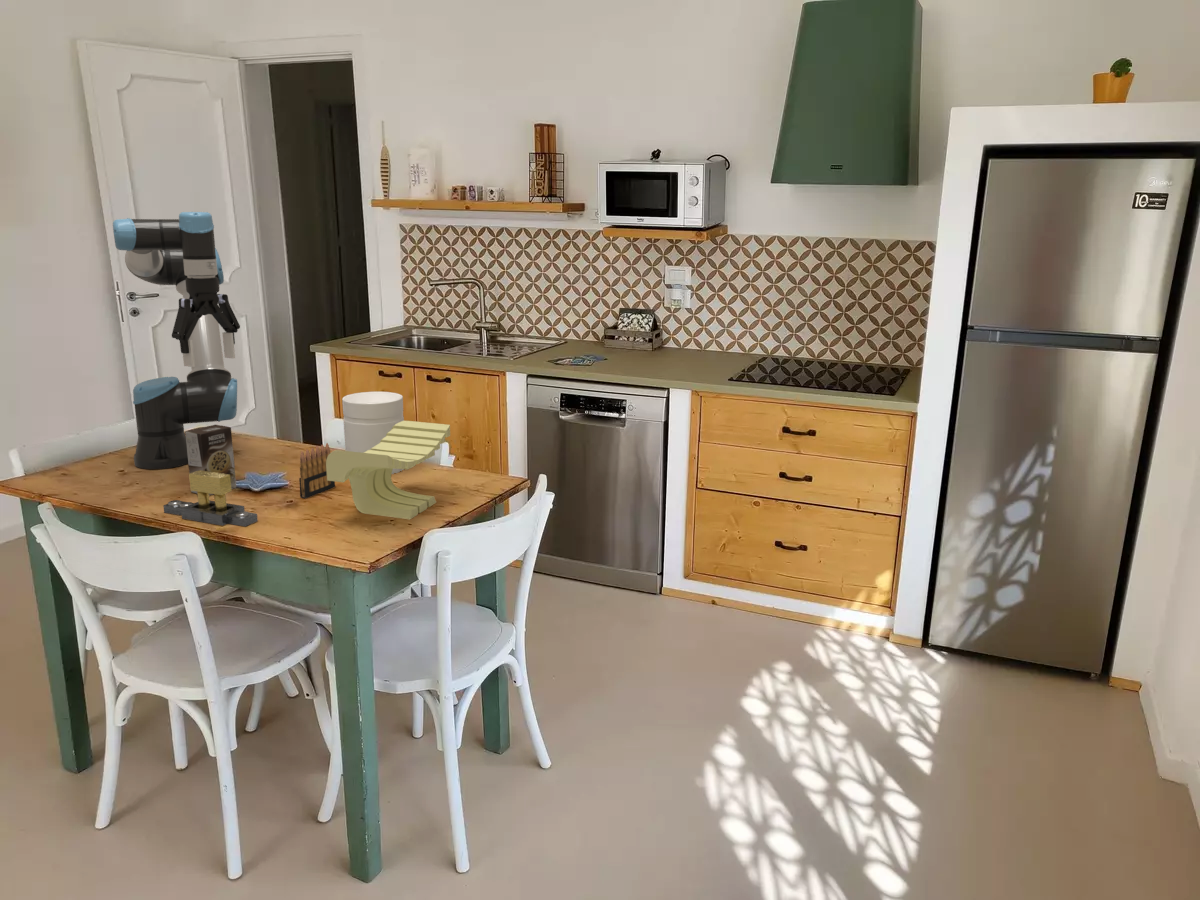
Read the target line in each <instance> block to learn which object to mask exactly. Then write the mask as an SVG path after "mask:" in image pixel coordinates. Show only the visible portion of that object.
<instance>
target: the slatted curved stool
mask: <svg viewBox="0 0 1200 900" xmlns="http://www.w3.org/2000/svg"><path fill="white" fill-rule="evenodd" d="M448 437H451V425H450V424H444V423H435V422H425V421H423V422H422V421H414V420H413V421H412V420H404V421H401V422H399V423H397V424H395V425H394V426H393V427H392V429H391V431H389V432H388V433H387V434H386V437H384V438H383V439H382V440H381V441H380V443H379V444H377V445H376V446H374V447H373V448H371V450H367V451H366V452H363V453H361V452H352V451H345V450H344V449H343V450H342V449H341V450H340V449H335V450H332V451H330V454H329V455H328V457H327V460H326V471H327V481H335V483H345V482H346V481H347V480H348V481H349V484H350V488H351V493H352V500H353V503H354V505H355V507H356V510H357V511H358V512H359V513H362V514H366V515H373V516H379V517H380V516H382V517H389V518H395V519H403V520H411V519H413V518H415V517H417V516H418V514H422V512H424V511H426V510H427V509H428V508H431V506H433V505H435V504H436V503H437V501H436V499H435V496H434V495H426V494H419V493H414V492H411V491H407V490H404V489H401V488H399V487H398V486H397V485H395V484H394V483H393V480H392V475H393V474H392V470H393V469H404V470H410V469H411V468H414V467H415V466H417V465H419V464H421V463H422V462H425V461H426V460H429V459H430V458H432V457H434V456H435V455H436V453H435V451H438V450H441V445H442V444H444V443H446V438H448Z"/></svg>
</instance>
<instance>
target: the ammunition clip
mask: <svg viewBox="0 0 1200 900" xmlns="http://www.w3.org/2000/svg"><path fill="white" fill-rule="evenodd" d="M330 453H331V449H330V444H329V443H328V442H326V443H325V446H324V444H321V446H320V447H319V446H318V445H317V446H316V447H315V449H314V447H311V449H310V450H309V449H308V448H306V450H305V453H304V451H303V450H301V452H300V454H299V455H300V456H299V460H300V461H299V462H300V463H299V465H300V466H299V475H300V477H298V479H299V480H298V481H299V498H300V499H309V498H311V497H314V496H317V495H319V494H321V493H324V492H327V491H329V490H332V489H335V487H336V481H327V471H326V460H327V457H328V455H329V454H330Z"/></svg>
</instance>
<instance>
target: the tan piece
mask: <svg viewBox="0 0 1200 900" xmlns="http://www.w3.org/2000/svg"><path fill="white" fill-rule="evenodd" d="M188 479H189V486H190V488H189V489H190V491H191V490H192V491H197V493H196V494H197V502H198V503H199V509H204V510H205V509H207V508H210V501H211V500H210V495H209V493H210V494H212V495H214V496H213V497H214V501H215V507H216V512H224V511H226V510H227V504H226V503H227V496H226V494H228V493H231V492H232V490H233V489H231V480H230V475H228V474H222V473H215V472H208V471H202V470H198V471H196V472H193V473H190V474H189V473H188Z"/></svg>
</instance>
